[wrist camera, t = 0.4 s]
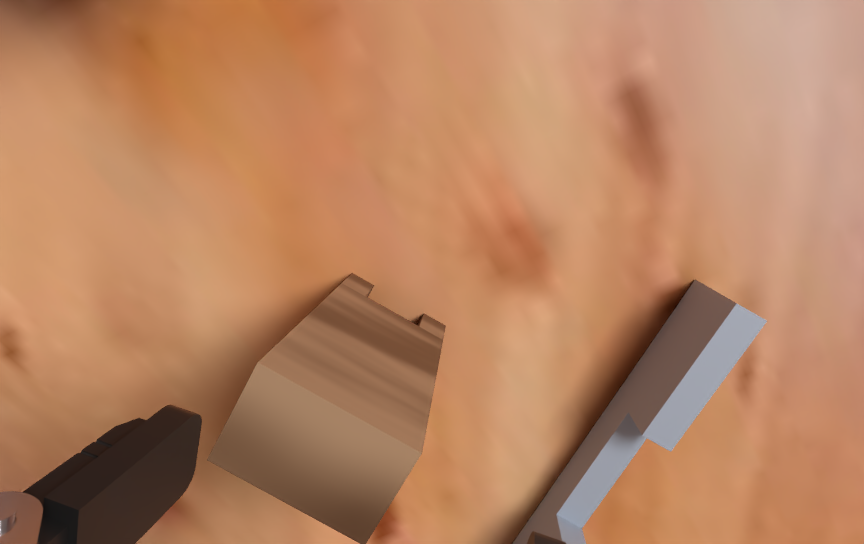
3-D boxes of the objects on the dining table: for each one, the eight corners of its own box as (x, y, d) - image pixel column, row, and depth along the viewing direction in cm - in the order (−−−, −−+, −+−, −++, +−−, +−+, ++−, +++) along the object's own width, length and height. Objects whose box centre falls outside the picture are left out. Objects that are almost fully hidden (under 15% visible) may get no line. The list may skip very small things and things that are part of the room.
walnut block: (352, 273, 32) (257, 362, 18) (445, 325, 32) (421, 453, 18) (320, 332, 33) (207, 460, 19) (411, 383, 33) (364, 545, 19)
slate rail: (695, 279, 30) (736, 303, 26) (720, 294, 30) (767, 320, 26) (485, 581, 35) (487, 650, 30) (508, 594, 35) (513, 665, 30)
